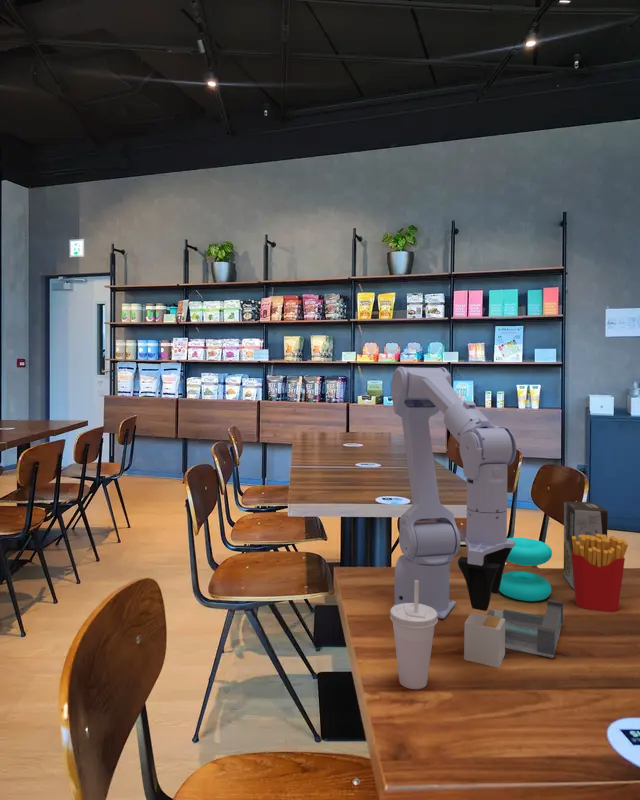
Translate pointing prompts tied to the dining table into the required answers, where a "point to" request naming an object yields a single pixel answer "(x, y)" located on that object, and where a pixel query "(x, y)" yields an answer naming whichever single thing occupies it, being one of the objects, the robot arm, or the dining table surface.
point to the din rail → (533, 629)
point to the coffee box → (581, 528)
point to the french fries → (598, 571)
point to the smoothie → (413, 640)
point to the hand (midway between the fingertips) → (485, 600)
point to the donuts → (524, 582)
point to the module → (484, 639)
